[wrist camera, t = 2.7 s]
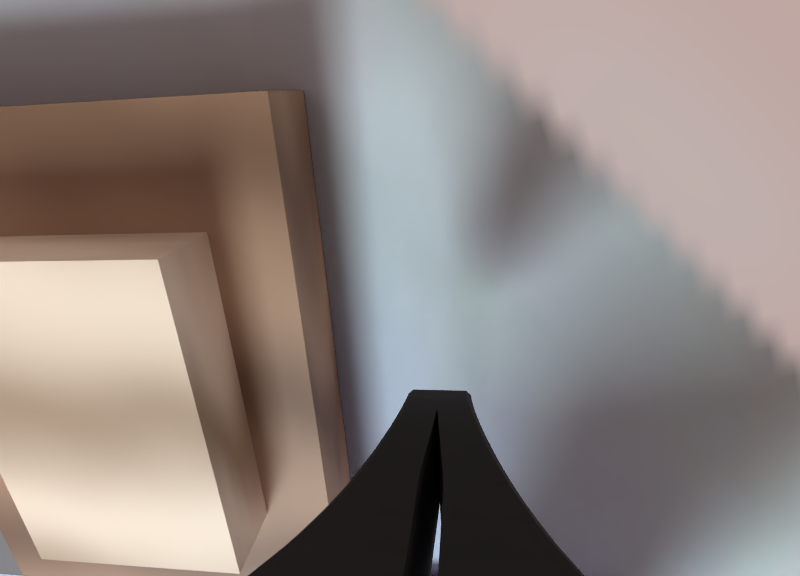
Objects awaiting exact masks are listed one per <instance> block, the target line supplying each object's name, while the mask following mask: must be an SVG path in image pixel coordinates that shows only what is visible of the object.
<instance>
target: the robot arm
mask: <svg viewBox="0 0 800 576" xmlns="http://www.w3.org/2000/svg"><path fill="white" fill-rule="evenodd" d="M439 505H440V511H441V538H440V555H439V570H438V576H584V575H583V574H582V573H581V572H580V570H579V569H578V568H577V567H576V566H575V565H574V564H573V563H572V561H571V560H570V559H569V558H568V557H567V556H566V555H565V554H564V552H563V551H562V550H561V549H560V548H559V547H558V546H557V544H556V543H555V542H554V541H553V539H552V538H551V537H550V536H549V534H548V533H547V532H546V530H545V529H544V528H543V527H542V525H541V524H540V523H539V522H538V520H537V519H536V517H535V516H534V515H533V513H532V512H531V511H530V509H529V508H528V507H527V505H526V504H525V502H524V501H523V499H522V498H521V496H520V495H519V493H518V492H517V490H516V489H515V487H514V486H513V484H512V483H511V481H510V479H509V478H508V476H507V474H506V473H505V471H504V470H503V468H502V466H501V464H500V463H499V461H498V459H497V457H496V455H495V453H494V452H493V450H492V448H491V446H490V444H489V442H488V440H487V438H486V436H485V434H484V432H483V430H482V427H481V425H480V423H479V420H478V418H477V415H476V413H475V410H474V407H473V403H472V400H471V395H470V394H469V393H468V392H467V391H448V390H412V391H411V392H410V393H409V394H408V396H407V399H406V401H405V403H404V404H403V406H402V408H401V410H400V412H399V413H398V415H397V417H396V418H395V420H394V422H393V423H392V425H391V427H390V428H389V430H388V431H387V433H386V434H385V435H384V437H383V438H382V440H381V441H380V443H379V444H378V446H377V447H376V449H375V450H374V451H373V453H372V454H371V455H370V457H369V458H368V459H367V460H366V462H365V463H364V464H363V466H362V467H361V468H360V469H359V471H358V472H357V473H356V475H355V476H354V477H353V478H352V479H351V481H350V482H349V483H348V484H347V485H346V486H345V487H344V489H343V490H342V491H341V492H340V493H339V494H338V495H337V496H336V497H335V498H334V499H333V501H332V502H331V503H330V504H329V505H328V506H327V507H326V508H325V509H324V510H323V511H322V512H321V513H320V514H319V515H318V516H317V517H316V518H315V519H314V520H313V521H311V522H310V523H309V524H308V525H307V526H306V527H305V528H304V529H303V530H302V531H301V532H300V533H299V534H298V535H297V536H295V537H294V538H293V539H292V540H291V541H290V542H289V543H288V544H286V545H285V546H284V547H283V548H282V549H280V550H279V551H278V552H277V553H275V554H274V555H273V556H272V557H270V558H269V559H268V560H267V561H265V562H264V563H263V564H262V565H260V566H259V567H258V568H257V569H255V570H254V571H253V572H252V573H250V574H249V575H248V576H430V573H431V565H432V558H433V550H434V543H435V535H436V528H437V520H438V513H439Z"/></svg>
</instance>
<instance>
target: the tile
mask: <svg viewBox="0 0 800 576" xmlns="http://www.w3.org/2000/svg"><path fill="white" fill-rule="evenodd" d="M0 474H1V476H2V478H3V480H4V482H5V484H6V486H7V489H8V491H9V493H10V495H11V497H12V499H13V501H14V503H15V505H16V507H17V509H18V511H19V513H20V516H21V518H22V520H23V522H24V524H25V526H26V528H27V530H28V532H29V534H30V536H31V538H32V540H33V542H34V545H35V547H36V549H37V551H38V553H39V555H40V557H41V559H47V560H60V561H73V562H87V563H100V564H113V565H127V566H140V567H154V568H167V569H180V570H194V571H207V572H220V573H234V574H240V573H241V571H242V568H243V566H244V564H245V562H246V559H247V557H248V555H249V553H250V551H251V548H252V546H253V544H254V542H255V540H256V537H257V535H258V533H259V531H260V529H261V526H262V524H263V522H264V520H265V518H266V515H267V509H266V505H265V500H264V495H263V491H262V486H261V481H260V477H259V472H258V467H257V463H256V458H255V453H254V449H253V444H252V439H251V435H250V430H249V425H248V421H247V416H246V411H245V407H244V402H243V397H242V393H241V388H240V383H239V379H238V374H237V369H236V365H235V360H234V356H233V351H232V346H231V342H230V337H229V332H228V328H227V323H226V318H225V314H224V309H223V304H222V300H221V295H220V290H219V286H218V281H217V276H216V272H215V267H214V262H213V258H212V253H211V248H210V244H209V239H208V234H207V232H188V233H142V234H96V235H49V236H3V237H0Z"/></svg>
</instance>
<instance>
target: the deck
mask: <svg viewBox="0 0 800 576" xmlns="http://www.w3.org/2000/svg"><path fill="white" fill-rule="evenodd" d="M188 232H207V234H208V239H209V244H210V248H211V253H212V258H213V262H214V267H215V272H216V276H217V281H218V286H219V290H220V295H221V300H222V304H223V309H224V314H225V318H226V323H227V328H228V332H229V337H230V342H231V346H232V351H233V356H234V360H235V365H236V369H237V374H238V379H239V383H240V388H241V393H242V397H243V402H244V407H245V411H246V416H247V421H248V425H249V430H250V435H251V439H252V444H253V449H254V453H255V458H256V463H257V467H258V472H259V477H260V481H261V486H262V491H263V495H264V500H265V505H266V509H267V515H266V518H265V520H264V522H263V524H262V526H261V529H260V531H259V533H258V535H257V537H256V540H255V542H254V544H253V546H252V548H251V551H250V553H249V555H248V557H247V559H246V562H245V564H244V566H243V568H242V571H241V573H240V574H234V573H220V572H207V571H194V570H180V569H167V568H154V567H140V566H127V565H113V564H100V563H87V562H73V561H60V560H47V559H41V557H40V555H39V553H38V551H37V549H36V547H35V545H34V542H33V540H32V538H31V536H30V534H29V532H28V530H27V528H26V526H25V524H24V522H23V520H22V518H21V516H20V513H19V511H18V509H17V507H16V505H15V503H14V501H13V499H12V497H11V495H10V493H9V491H8V489H7V486H6V484H5V482H4V480H3V478H2V476H1V474H0V531H1V533H2V535H3V537H4V539H5V541H6V542H7V544H8V546H9V548H10V550H11V552H12V554H13V556H14V558H15V560H16V562H17V564H18V566H19V568H20V570H21V572H22V574H23V576H248V575H249V574H250V573H252V572H253V571H254V570H255V569H257V568H258V567H259V566H260V565H262V564H263V563H264V562H265V561H267V560H268V559H269V558H270V557H272V556H273V555H274V554H275V553H277V552H278V551H279V550H280V549H282V548H283V547H284V546H285V545H286V544H288V543H289V542H290V541H291V540H292V539H293V538H294V537H295V536H297V535H298V534H299V533H300V532H301V531H302V530H303V529H304V528H305V527H306V526H307V525H308V524H309V523H310V522H311V521H313V520H314V519H315V518H316V517H317V516H318V515H319V514H320V513H321V512H322V511H323V510H324V509H325V508H326V507H327V506H328V505H329V504H330V503H331V502H332V501H333V499H334V498H335V497H336V496H337V495H338V494H339V493H340V492H341V491H342V490H343V489H344V487H345V486H346V485H347V484H348V483H349V482H350V481H351V480H350V472H349V463H348V455H347V447H346V439H345V430H344V422H343V414H342V405H341V397H340V389H339V381H338V372H337V364H336V356H335V347H334V339H333V331H332V322H331V314H330V306H329V298H328V289H327V281H326V273H325V264H324V256H323V248H322V239H321V231H320V223H319V215H318V206H317V198H316V190H315V181H314V173H313V165H312V157H311V148H310V140H309V132H308V123H307V115H306V107H305V98H304V91H252V92H236V93H219V94H203V95H186V96H170V97H154V98H137V99H121V100H104V101H88V102H71V103H55V104H38V105H22V106H5V107H0V237H3V236H49V235H96V234H142V233H188Z"/></svg>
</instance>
